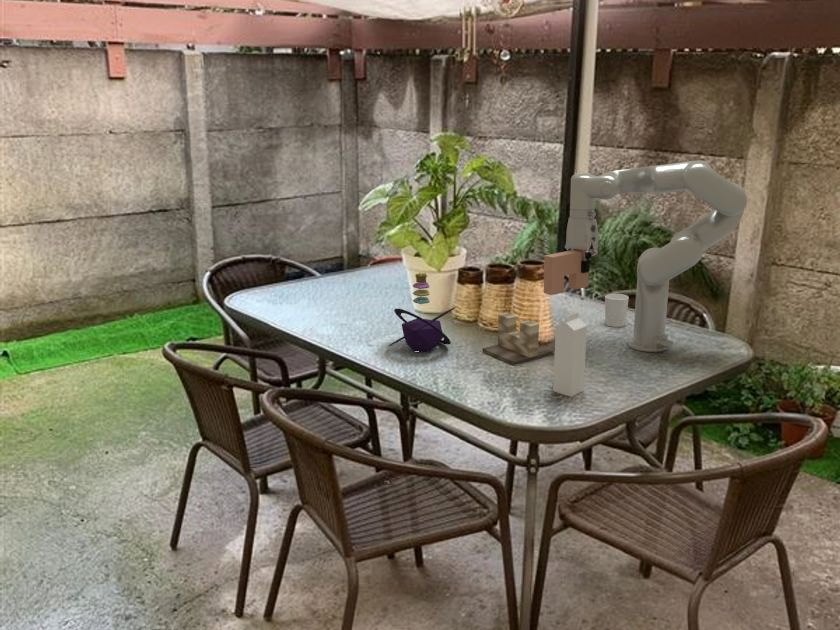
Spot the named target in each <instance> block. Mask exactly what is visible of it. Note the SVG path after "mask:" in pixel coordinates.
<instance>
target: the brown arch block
mask: <svg viewBox="0 0 840 630" xmlns="http://www.w3.org/2000/svg"><path fill="white" fill-rule="evenodd" d="M586 255H587V253H586ZM543 260H544V261H543V262H544V263H543V265H544V266H543V294H545V295H549V296H554V295H555V296H556V295H558V294H563V293H564V292H565V276H567V275H568V288H569V289H573V290H575V291H576V290H580V289H581V290H582V289H585V288H588V287H589V273H590V271H589V272H587V273H581V261H583V256H582V251H580V250H571V251H568V250H566V251H562V252H561V251H560V252H556V253H551V254H550V253H549V254H545V255H544V259H543Z"/></svg>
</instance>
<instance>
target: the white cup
mask: <svg viewBox="0 0 840 630" xmlns="http://www.w3.org/2000/svg"><path fill="white" fill-rule="evenodd" d="M628 307H629V295H626V294H622V293H609V294H605V296H604V318H605V321H604V322H605V325H606V326H609V327H611V326H612V328H622V327H624V326H626V321H627V316H628Z"/></svg>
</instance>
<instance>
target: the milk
mask: <svg viewBox="0 0 840 630" xmlns="http://www.w3.org/2000/svg"><path fill="white" fill-rule="evenodd" d="M587 329H588V326H587V324H585V322H583V321H582V319H580V317H579V312H575V313H572V314H569V315H567V316H565V318H564V322H563V323H560V324H558V325H555V336H554V338H555V339H554V340H555V341H554V361H553V363H554V364H553V365H554V366H553V389H552V390H553V392H554V393H557V394H561V395H564V396H567V397H570V398H571V397H574V396H576V395H577V394H580V393H583V391H584V389H585V388H584V387H585V370H586V368H585V367H586V353H587V352H586V351H587V350H586V349H587V347H586V346H587V332H588V331H587Z"/></svg>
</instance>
